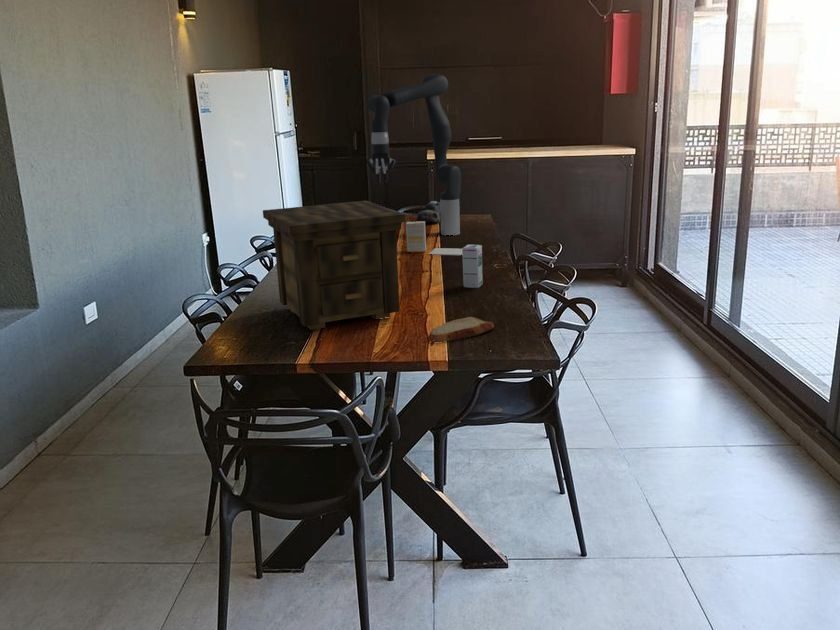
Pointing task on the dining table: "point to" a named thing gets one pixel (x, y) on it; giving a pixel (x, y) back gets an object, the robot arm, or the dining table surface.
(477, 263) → the syrup box
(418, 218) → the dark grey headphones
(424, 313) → the dining table surface
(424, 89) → the robot arm
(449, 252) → the felt pad
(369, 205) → the wooden bedside nightstand
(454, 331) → the slice of bread
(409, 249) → the supplement box
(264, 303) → the dining table surface
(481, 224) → the dining table surface
